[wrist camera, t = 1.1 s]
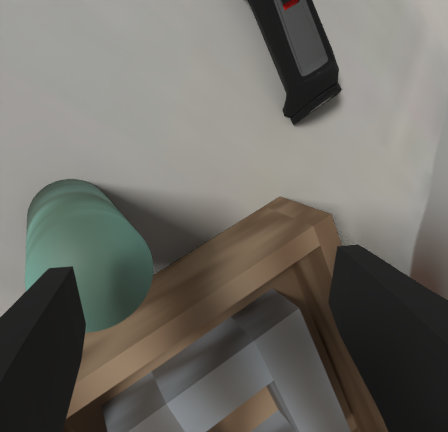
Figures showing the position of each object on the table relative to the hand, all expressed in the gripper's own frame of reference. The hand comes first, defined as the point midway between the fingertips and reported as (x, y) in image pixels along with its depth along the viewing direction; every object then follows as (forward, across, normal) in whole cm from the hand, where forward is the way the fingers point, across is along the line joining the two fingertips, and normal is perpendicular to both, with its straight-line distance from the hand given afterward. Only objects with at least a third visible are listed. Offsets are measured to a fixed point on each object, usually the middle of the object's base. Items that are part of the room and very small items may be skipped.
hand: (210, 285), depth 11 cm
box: (+8, -2, +17) cm, 19 cm away
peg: (+10, +6, +3) cm, 12 cm away
